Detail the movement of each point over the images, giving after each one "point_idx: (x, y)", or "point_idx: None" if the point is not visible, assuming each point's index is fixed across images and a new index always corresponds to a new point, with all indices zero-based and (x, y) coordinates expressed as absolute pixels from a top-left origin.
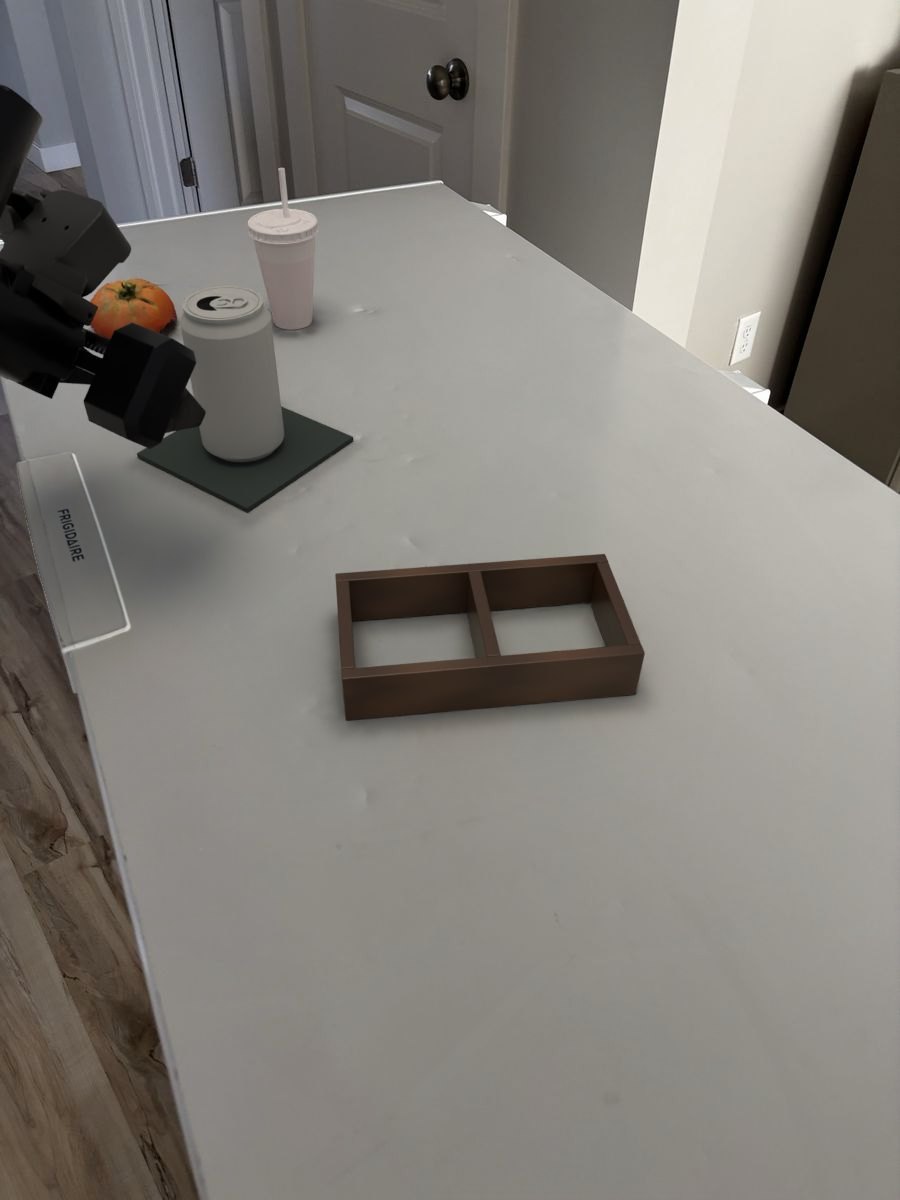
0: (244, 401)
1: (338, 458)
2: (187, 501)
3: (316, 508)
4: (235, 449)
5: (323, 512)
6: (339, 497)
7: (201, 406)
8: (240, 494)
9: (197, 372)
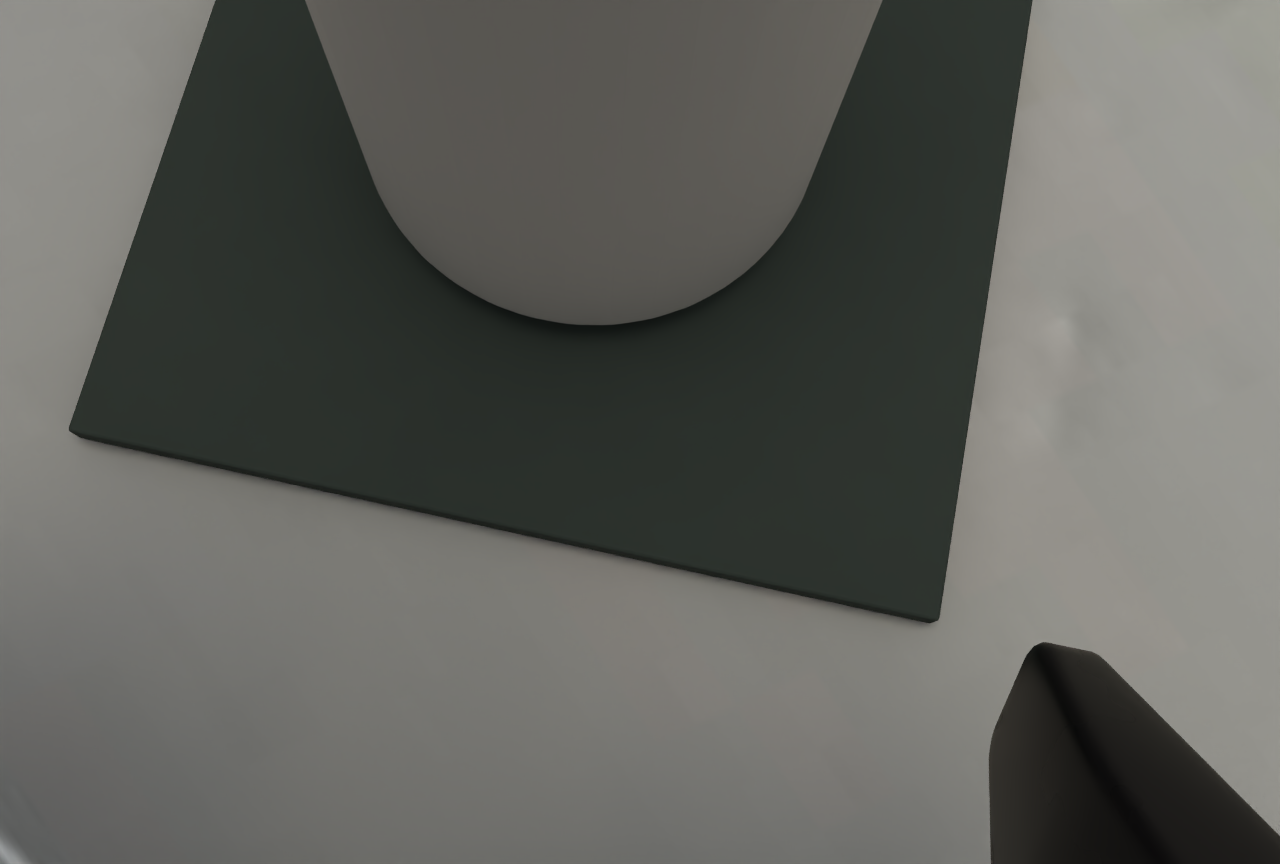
0: (827, 71)
1: (1060, 40)
2: (577, 671)
3: (1214, 444)
4: (693, 283)
5: (1264, 459)
6: (1258, 319)
7: (1176, 733)
8: (835, 529)
9: (491, 22)
